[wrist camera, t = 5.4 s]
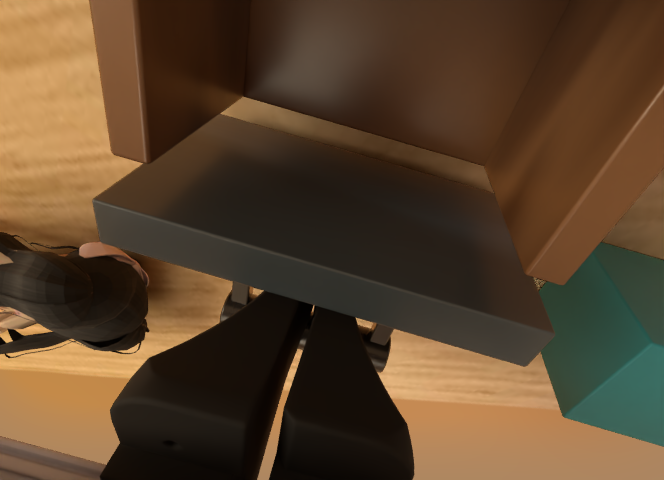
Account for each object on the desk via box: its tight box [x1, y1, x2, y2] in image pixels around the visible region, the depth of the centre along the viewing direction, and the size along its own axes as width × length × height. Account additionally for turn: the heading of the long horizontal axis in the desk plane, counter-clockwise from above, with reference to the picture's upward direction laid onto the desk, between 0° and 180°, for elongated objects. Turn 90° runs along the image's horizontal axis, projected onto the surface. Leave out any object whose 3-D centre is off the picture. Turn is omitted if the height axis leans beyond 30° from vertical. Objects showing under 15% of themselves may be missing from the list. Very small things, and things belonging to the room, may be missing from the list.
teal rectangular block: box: [539, 242, 664, 447], centre depth 13 cm, size 4×4×5 cm
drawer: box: [89, 0, 664, 373], centre depth 9 cm, size 18×10×6 cm, turn 167°
